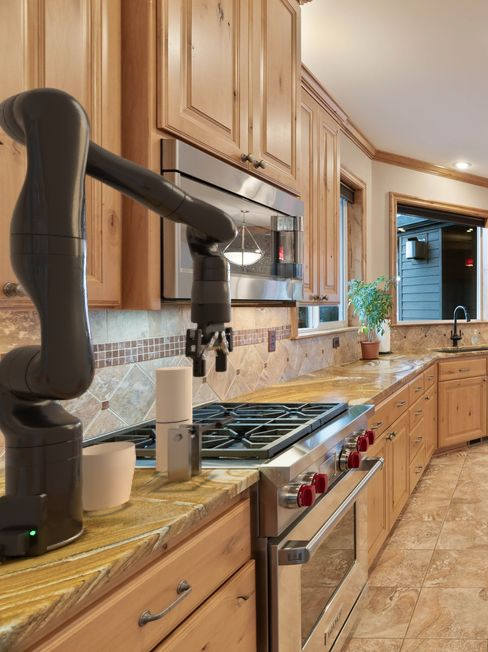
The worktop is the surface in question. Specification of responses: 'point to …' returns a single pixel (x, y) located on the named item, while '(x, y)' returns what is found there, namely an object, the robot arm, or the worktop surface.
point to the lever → (212, 426)
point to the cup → (107, 474)
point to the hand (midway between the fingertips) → (210, 374)
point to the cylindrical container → (171, 407)
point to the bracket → (184, 453)
